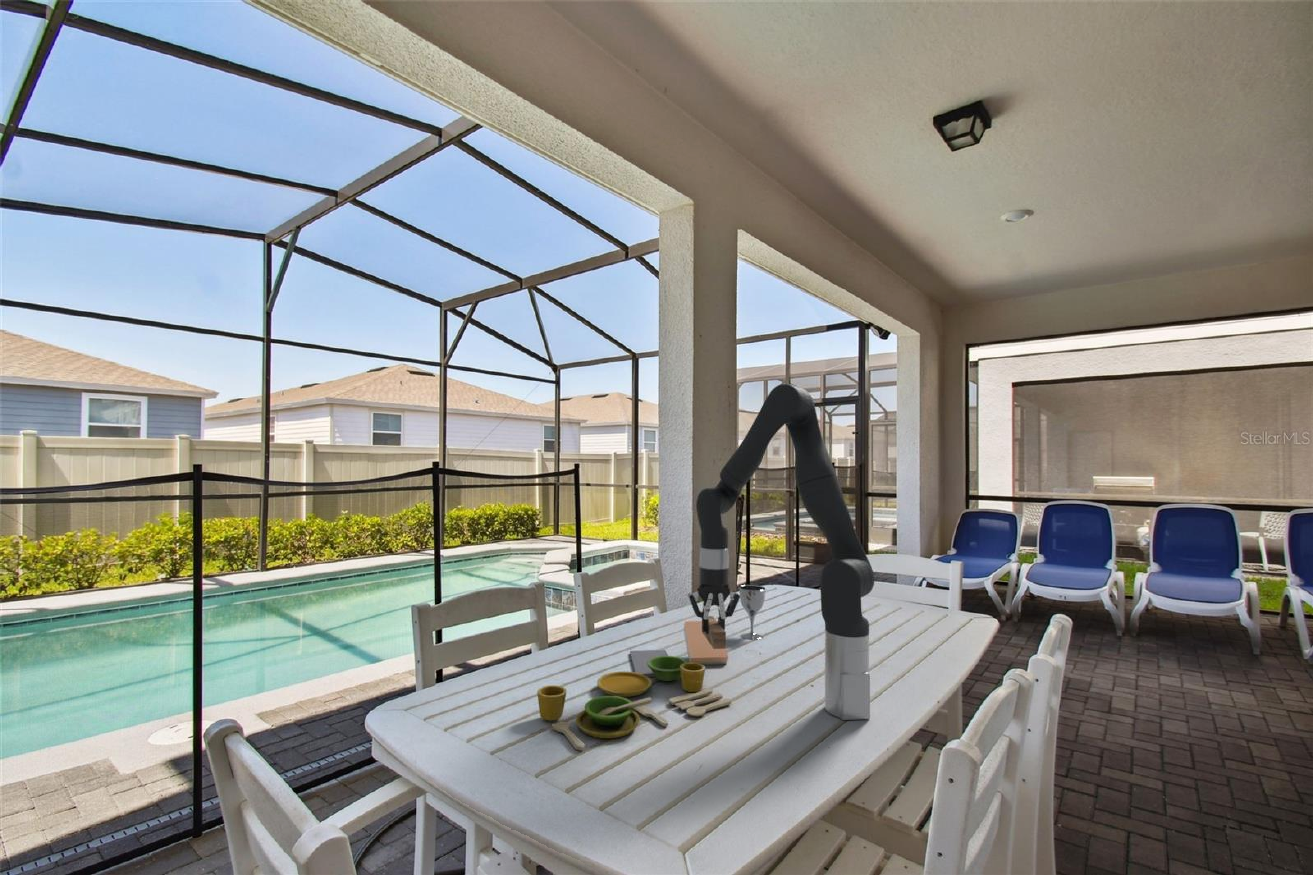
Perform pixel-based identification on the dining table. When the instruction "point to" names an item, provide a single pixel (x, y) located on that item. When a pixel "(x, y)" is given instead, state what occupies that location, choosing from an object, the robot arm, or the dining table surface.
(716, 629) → the walnut stick
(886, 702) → the dining table surface
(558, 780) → the dining table surface
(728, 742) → the dining table surface
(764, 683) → the dining table surface
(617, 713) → the tableware set
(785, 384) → the robot arm
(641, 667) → the rubber mat
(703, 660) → the terracotta tile
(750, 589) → the wine glass
